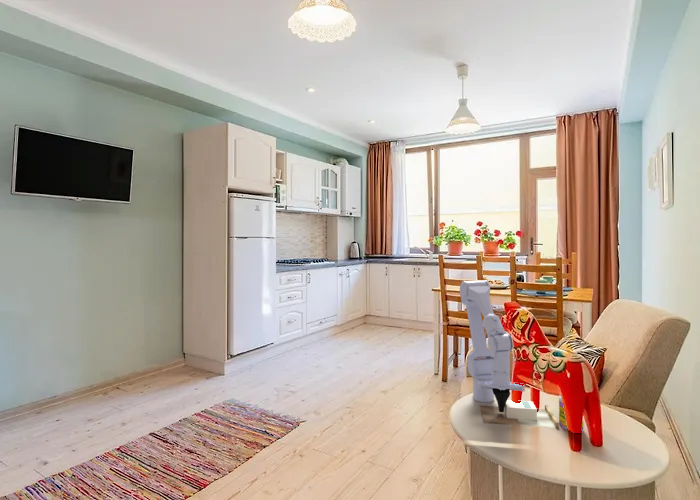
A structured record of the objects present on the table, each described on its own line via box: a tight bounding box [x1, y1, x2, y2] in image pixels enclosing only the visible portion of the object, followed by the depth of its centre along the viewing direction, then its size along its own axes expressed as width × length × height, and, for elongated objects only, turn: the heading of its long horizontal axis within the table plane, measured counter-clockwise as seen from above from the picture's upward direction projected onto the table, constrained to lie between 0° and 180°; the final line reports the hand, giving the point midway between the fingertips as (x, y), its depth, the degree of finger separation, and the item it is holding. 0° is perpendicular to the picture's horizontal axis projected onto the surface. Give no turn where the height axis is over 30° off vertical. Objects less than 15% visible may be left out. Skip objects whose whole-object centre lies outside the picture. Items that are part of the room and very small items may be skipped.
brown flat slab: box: [479, 404, 560, 429], centre depth 135 cm, size 14×22×2 cm, turn 78°
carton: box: [504, 399, 538, 420], centre depth 136 cm, size 6×9×4 cm
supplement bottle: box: [558, 395, 584, 432], centre depth 127 cm, size 7×7×13 cm
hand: (501, 411), depth 137 cm, fingers closed
